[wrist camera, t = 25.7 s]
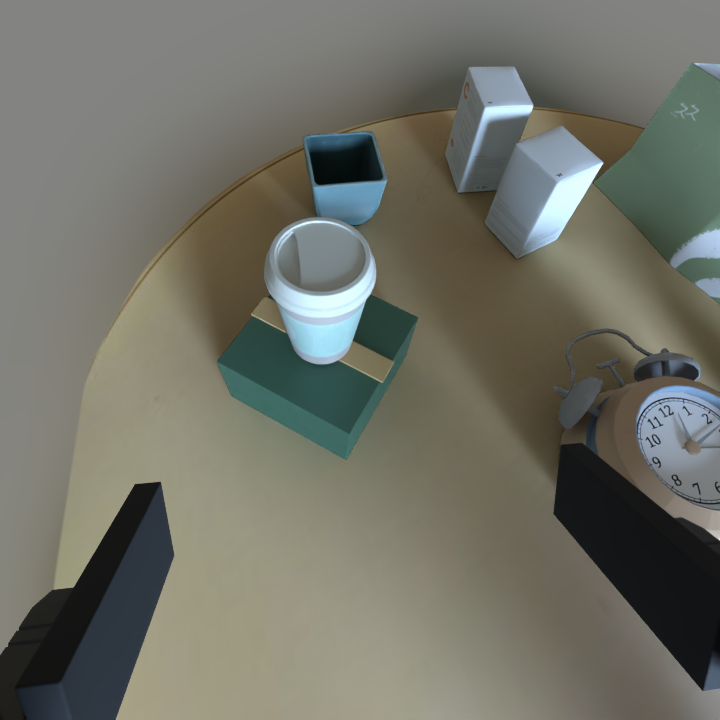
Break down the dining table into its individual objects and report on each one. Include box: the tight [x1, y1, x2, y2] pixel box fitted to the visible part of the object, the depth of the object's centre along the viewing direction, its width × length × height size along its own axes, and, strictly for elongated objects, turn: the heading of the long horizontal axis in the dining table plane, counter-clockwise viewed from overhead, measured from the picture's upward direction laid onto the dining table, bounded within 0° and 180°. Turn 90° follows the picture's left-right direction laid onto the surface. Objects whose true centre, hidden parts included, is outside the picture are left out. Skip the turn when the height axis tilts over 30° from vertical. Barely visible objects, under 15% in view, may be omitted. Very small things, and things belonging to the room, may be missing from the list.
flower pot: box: [303, 131, 387, 225], centre depth 60 cm, size 9×9×9 cm
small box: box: [445, 66, 534, 193], centre depth 63 cm, size 8×6×13 cm
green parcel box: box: [217, 294, 418, 460], centre depth 49 cm, size 14×14×8 cm
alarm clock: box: [554, 329, 720, 541], centre depth 47 cm, size 17×9×23 cm
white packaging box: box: [485, 126, 603, 259], centre depth 59 cm, size 7×7×13 cm
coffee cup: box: [264, 217, 376, 364], centre depth 40 cm, size 8×8×12 cm
